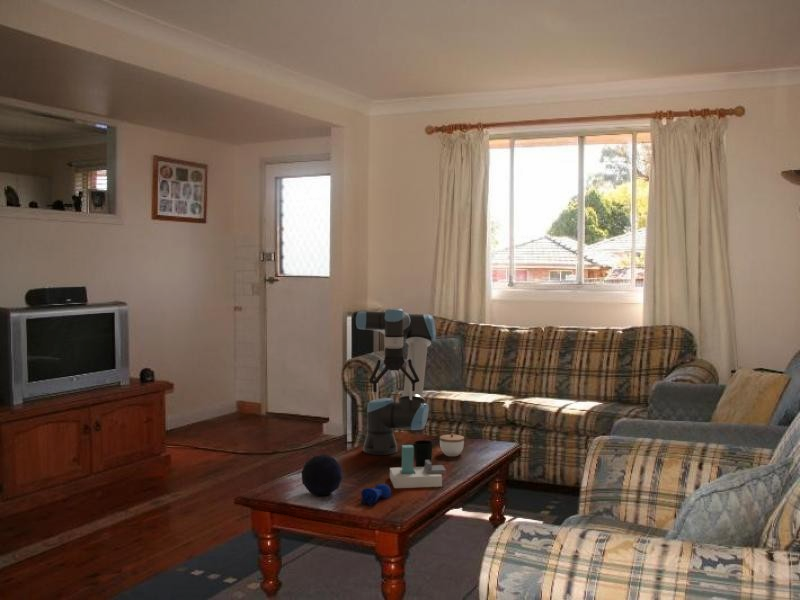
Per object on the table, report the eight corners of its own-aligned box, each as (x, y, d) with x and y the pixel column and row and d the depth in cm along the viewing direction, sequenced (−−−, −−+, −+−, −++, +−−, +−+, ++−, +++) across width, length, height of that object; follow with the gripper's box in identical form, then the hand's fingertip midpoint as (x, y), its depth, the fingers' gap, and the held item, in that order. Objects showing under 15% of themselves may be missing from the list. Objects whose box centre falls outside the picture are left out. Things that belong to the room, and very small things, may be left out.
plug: (401, 481, 302) (401, 445, 302) (411, 480, 303) (412, 444, 302) (403, 484, 298) (403, 447, 298) (413, 483, 299) (413, 447, 298)
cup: (431, 475, 311) (431, 445, 310) (412, 473, 313) (412, 444, 312) (434, 469, 319) (434, 440, 318) (415, 468, 320) (415, 439, 319)
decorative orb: (316, 470, 297) (304, 444, 288) (352, 474, 292) (341, 448, 283) (302, 501, 287) (289, 475, 278) (339, 506, 282) (327, 480, 273)
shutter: (424, 468, 305) (424, 459, 305) (442, 468, 306) (442, 458, 306) (427, 473, 298) (427, 464, 298) (446, 473, 299) (446, 463, 299)
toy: (375, 509, 271) (394, 495, 284) (374, 491, 270) (394, 478, 284) (357, 506, 274) (378, 493, 287) (357, 488, 274) (378, 476, 287)
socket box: (389, 477, 307) (389, 467, 307) (435, 476, 309) (435, 466, 309) (394, 488, 293) (394, 477, 293) (441, 486, 295) (442, 476, 295)
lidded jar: (463, 458, 338) (463, 436, 337) (438, 457, 339) (438, 435, 339) (464, 452, 348) (465, 431, 348) (440, 451, 350) (440, 430, 349)
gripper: (364, 348, 310) (364, 402, 311) (426, 347, 313) (426, 400, 315) (362, 346, 317) (362, 398, 319) (423, 345, 321) (423, 397, 322)
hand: (394, 399), depth 317 cm, fingers open, 13 cm apart
